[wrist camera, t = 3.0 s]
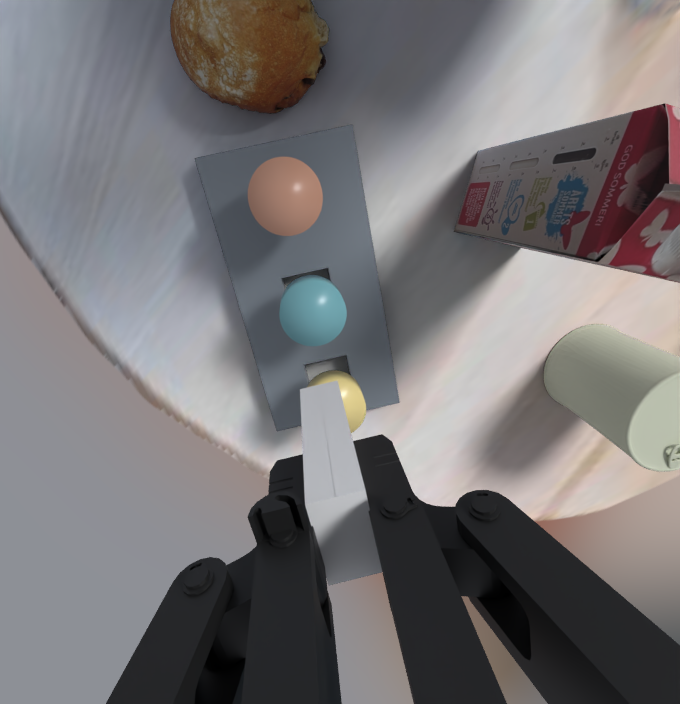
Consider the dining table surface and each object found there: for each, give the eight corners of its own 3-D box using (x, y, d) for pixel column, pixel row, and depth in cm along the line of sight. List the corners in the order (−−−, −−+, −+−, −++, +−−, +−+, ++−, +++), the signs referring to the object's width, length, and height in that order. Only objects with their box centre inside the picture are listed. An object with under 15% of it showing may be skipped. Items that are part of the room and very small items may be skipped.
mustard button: (298, 368, 36) (298, 391, 32) (352, 355, 36) (360, 376, 32) (310, 416, 38) (312, 443, 33) (362, 403, 38) (371, 429, 33)
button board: (200, 160, 33) (194, 158, 31) (349, 128, 33) (352, 124, 31) (277, 420, 41) (276, 431, 39) (394, 393, 42) (399, 402, 40)
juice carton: (521, 247, 38) (792, 307, 17) (453, 231, 37) (658, 275, 16) (549, 170, 36) (895, 134, 15) (478, 150, 34) (749, 82, 14)
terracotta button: (246, 169, 30) (238, 165, 26) (310, 155, 30) (313, 149, 26) (263, 237, 32) (259, 243, 28) (325, 223, 32) (329, 227, 28)
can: (540, 412, 44) (623, 484, 33) (546, 330, 41) (640, 380, 30) (622, 399, 45) (731, 466, 34) (634, 317, 41) (760, 362, 30)
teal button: (274, 277, 33) (271, 289, 29) (333, 264, 33) (339, 274, 29) (289, 334, 35) (288, 352, 30) (345, 321, 35) (352, 338, 31)
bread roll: (245, -35, 32) (176, -138, 24) (359, 14, 30) (324, -80, 22) (197, 96, 34) (121, 40, 27) (299, 149, 32) (249, 105, 25)
